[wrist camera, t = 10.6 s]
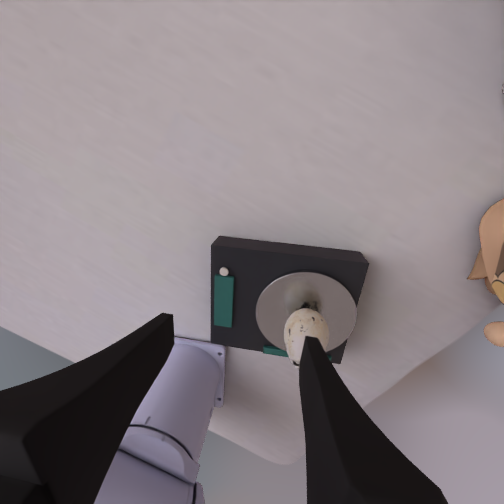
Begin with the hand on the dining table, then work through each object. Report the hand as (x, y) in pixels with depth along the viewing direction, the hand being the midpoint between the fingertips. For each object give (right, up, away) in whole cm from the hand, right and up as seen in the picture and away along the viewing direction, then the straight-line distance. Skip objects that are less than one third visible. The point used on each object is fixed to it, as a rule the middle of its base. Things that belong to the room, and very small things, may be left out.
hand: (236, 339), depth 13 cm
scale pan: (+5, 0, +7) cm, 9 cm away
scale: (+3, +1, +9) cm, 10 cm away
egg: (+5, 0, +7) cm, 8 cm away
